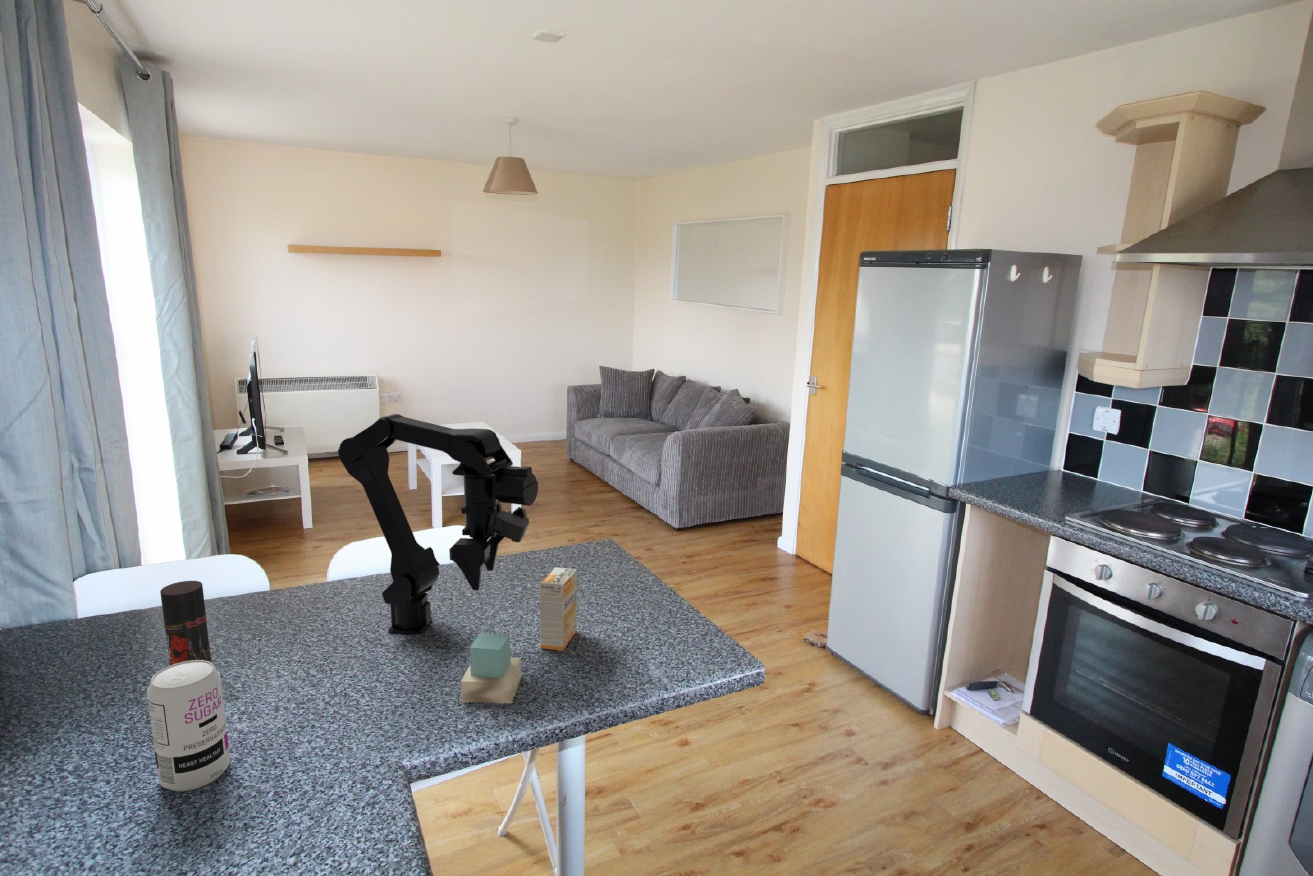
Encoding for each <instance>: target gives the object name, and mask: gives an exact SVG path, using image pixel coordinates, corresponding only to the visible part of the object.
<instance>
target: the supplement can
mask: <svg viewBox="0 0 1313 876" xmlns="http://www.w3.org/2000/svg"><path fill="white" fill-rule="evenodd" d="M211 662H212V661H211ZM211 662H209V661H204V660H192V661H186V662H181V663H177V664H174V665H171V666H170V665H168V666H166V667H165V668H162V669H160V670H159V671H157V672H156V673H154V674H153V676H152V678H151V679H150V680H151V682H150V683H149V686H148V688H147V689H146V697H147V705H148V712H149V720H150V726H151V734H152V740H153V747H154V756H155V764H156V769H157V776H158V783H159V785H161V786H162V788H164V789H167V790H168V791H169V790H170V791H173V792H189V791H193V790H196V789H197V790H198V789H200V788H202V787H204V786H207V785H209V784H210V783H213V782H214V781H216V780H217V779H218V778H219V777H221V776H222V774H224V772H225V771H226V770H227V769H228V767H229V765H230V762H231V756H230V748H229V747H230V746H229V740H228V730H227V723H226V712H225V704H224V703H225V702H224V694H223V686H222V679H221V673H220V672H219V670H218V669H216V667H215V666H214V663H211Z"/></svg>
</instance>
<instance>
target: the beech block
mask: <svg viewBox="0 0 1313 876" xmlns="http://www.w3.org/2000/svg"><path fill="white" fill-rule="evenodd" d="M510 660H511V663H510V665H509V666H508V668H507V669H506V671H505V672H504V674H503V675H502V677H501V678H491V677H479V676H471V668H470V664H469V665H468V668H467V669H466V671H465V673H464V675H463V676H462V679H461V680H460V690H461V691H460V693H461V703H469V702H471V704H472V702H473V703H474V702H480V703H479V704H504V703H508V704H507V705H511V704H512V702H513V700H514V698H515V695H516V692H517V690H518V687H519V685H520V682H521V680H522V658H521V657H510ZM513 697H514V698H513ZM481 702H483V703H481ZM484 702H485V703H484ZM486 702H488V703H486ZM490 702H491V703H490ZM492 702H493V703H492ZM509 703H510V704H509Z"/></svg>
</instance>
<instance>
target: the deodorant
mask: <svg viewBox="0 0 1313 876" xmlns="http://www.w3.org/2000/svg"><path fill="white" fill-rule="evenodd" d="M203 587H204V586H203V583H202V582H201V581H198V580H183V581H178V582H174V583H171V584H168V585H165V586H164V587H162V588H161V589H160V601H161V608H162V614H163V615H162V616H163V622H164V623H163V624H164V630H165V631H164V632H165V638H166V645H167V652H168V660H169V666H171V665H174V664H177V663H181V662H186V661H192V660H204V661H209V662H212V657H211V656H212V655H211V647H210V637H209V630H208V621H207V613H206V604H205V597H204V596H205V594H204V588H203Z"/></svg>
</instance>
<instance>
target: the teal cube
mask: <svg viewBox="0 0 1313 876" xmlns="http://www.w3.org/2000/svg"><path fill="white" fill-rule="evenodd" d="M510 658H511V635H509V634H497V633H496V634H495V633H494V634H493V633H483V632H482V633H480V634H479V635H478V637H477V638H476V639H475V640H474V641H473V643H472V644H471V645H470V646H469V663H470V664H469V665H470V668H471V676H479V677H491V678H501V677H502V675H503V674H504V672H505V671H506V669H507V668H508V666H509V665H510V663H511V660H510Z"/></svg>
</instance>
